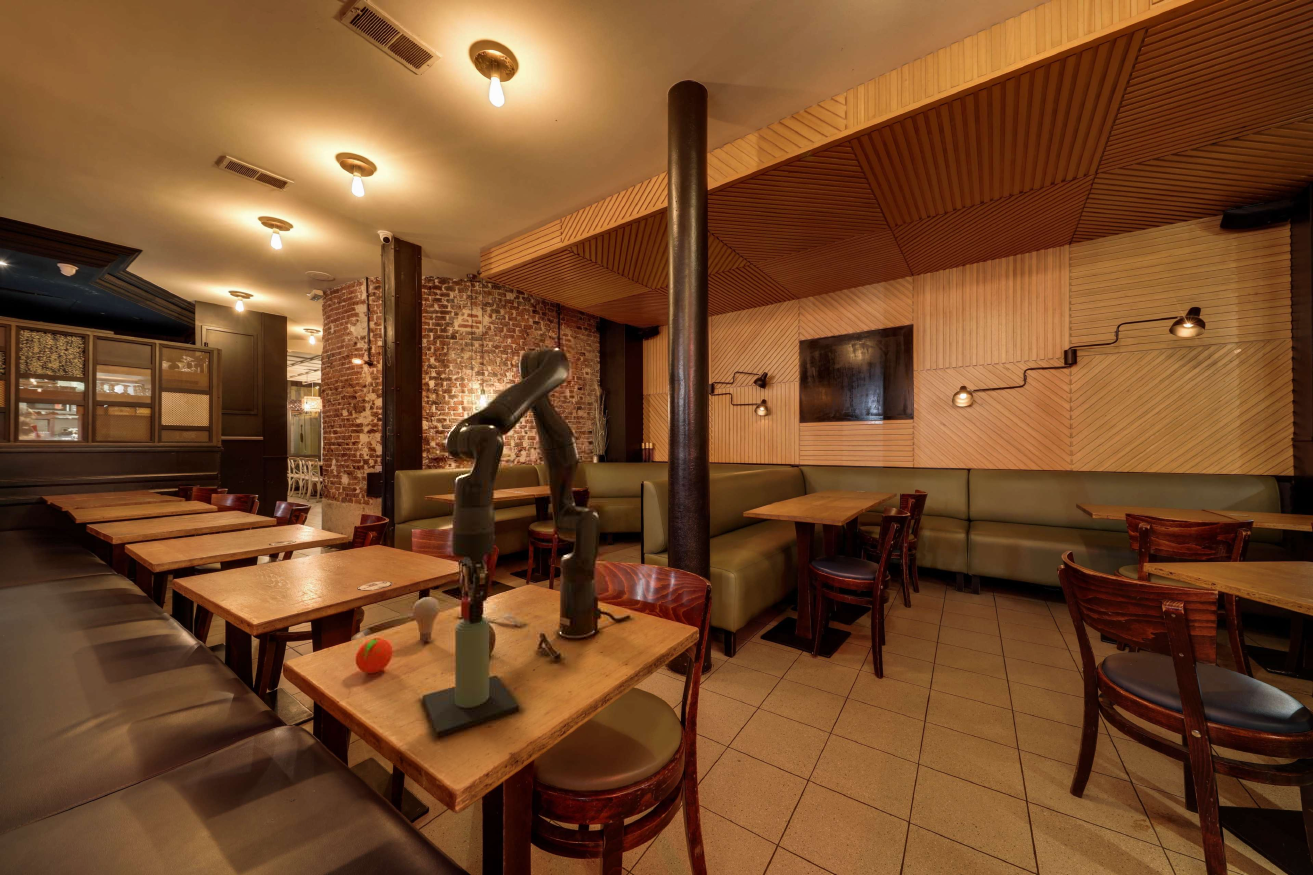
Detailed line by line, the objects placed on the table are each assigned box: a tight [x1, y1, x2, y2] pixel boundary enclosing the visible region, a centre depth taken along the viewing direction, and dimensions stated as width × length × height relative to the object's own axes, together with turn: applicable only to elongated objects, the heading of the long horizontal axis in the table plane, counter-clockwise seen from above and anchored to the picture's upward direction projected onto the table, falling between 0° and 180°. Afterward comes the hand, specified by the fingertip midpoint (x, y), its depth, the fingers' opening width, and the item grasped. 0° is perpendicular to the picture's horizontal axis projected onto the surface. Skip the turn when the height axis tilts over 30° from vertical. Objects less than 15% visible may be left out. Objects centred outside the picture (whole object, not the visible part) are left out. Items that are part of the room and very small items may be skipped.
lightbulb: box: [411, 596, 441, 643], centre depth 115 cm, size 6×6×11 cm
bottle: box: [454, 615, 490, 708], centre depth 87 cm, size 6×6×18 cm
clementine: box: [355, 637, 394, 674], centre depth 99 cm, size 8×7×7 cm
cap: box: [460, 594, 484, 619], centre depth 87 cm, size 4×4×3 cm
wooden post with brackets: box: [537, 632, 562, 663], centre depth 108 cm, size 2×8×4 cm, turn 46°
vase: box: [484, 616, 497, 656], centre depth 107 cm, size 7×7×9 cm
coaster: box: [422, 674, 520, 739], centre depth 87 cm, size 14×14×1 cm
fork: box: [458, 613, 525, 628], centre depth 129 cm, size 3×21×3 cm, turn 72°
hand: (472, 618), depth 87 cm, fingers closed on cap, 3 cm apart
